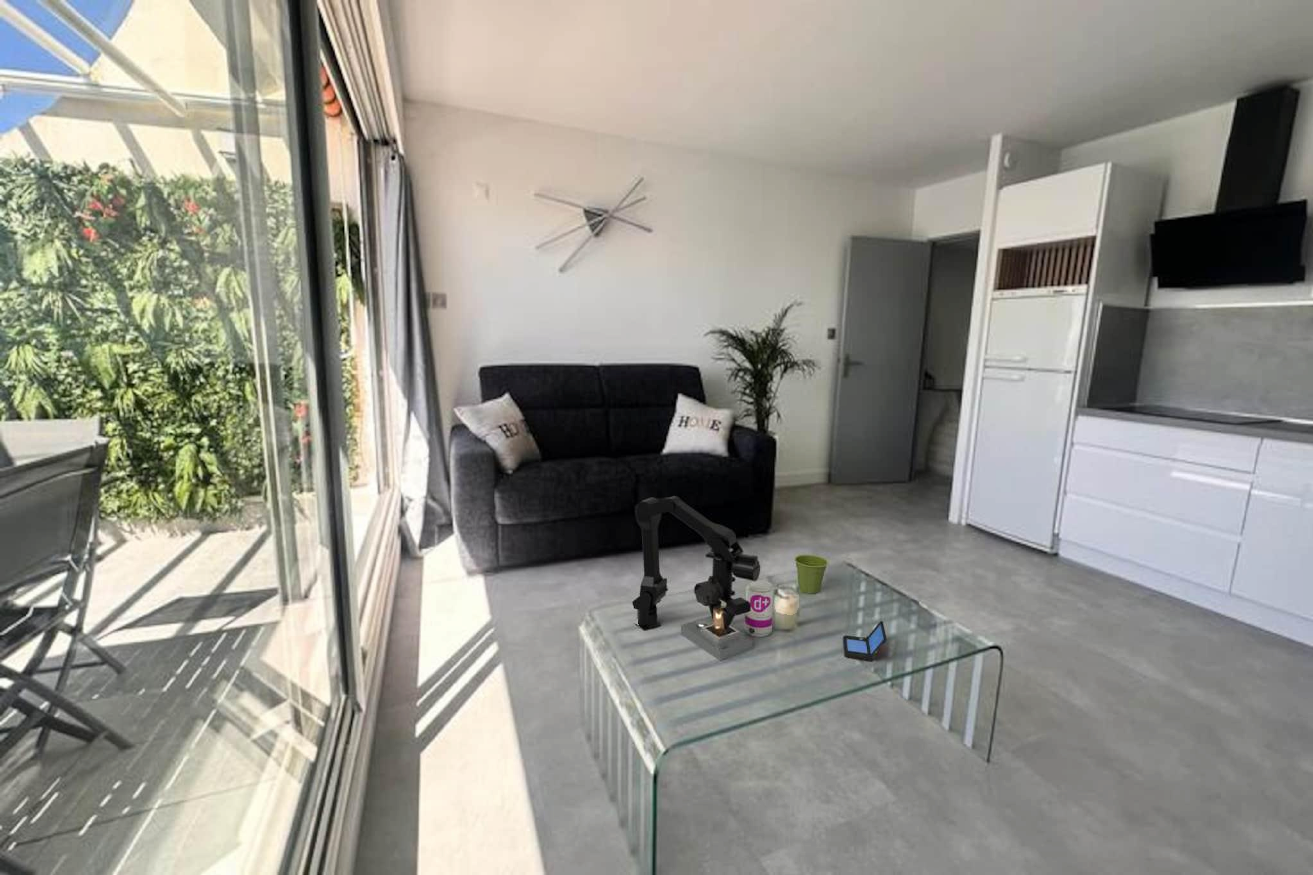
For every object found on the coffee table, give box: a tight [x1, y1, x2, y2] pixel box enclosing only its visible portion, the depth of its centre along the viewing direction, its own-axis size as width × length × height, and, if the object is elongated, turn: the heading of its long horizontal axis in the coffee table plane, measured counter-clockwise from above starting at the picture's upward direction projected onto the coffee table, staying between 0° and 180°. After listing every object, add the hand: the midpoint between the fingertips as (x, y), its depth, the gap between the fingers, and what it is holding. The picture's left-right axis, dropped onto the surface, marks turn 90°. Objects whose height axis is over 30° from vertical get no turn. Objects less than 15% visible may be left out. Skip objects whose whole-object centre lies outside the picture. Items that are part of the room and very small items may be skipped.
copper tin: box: [713, 604, 728, 637], centre depth 167 cm, size 4×4×8 cm
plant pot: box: [793, 554, 829, 595], centre depth 207 cm, size 12×12×11 cm
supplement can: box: [743, 579, 775, 638], centre depth 175 cm, size 8×8×15 cm
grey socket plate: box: [680, 615, 754, 661], centre depth 169 cm, size 18×12×4 cm, turn 34°
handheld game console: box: [842, 620, 888, 663], centre depth 165 cm, size 12×11×7 cm
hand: (720, 625), depth 167 cm, fingers closed on copper tin, 4 cm apart
